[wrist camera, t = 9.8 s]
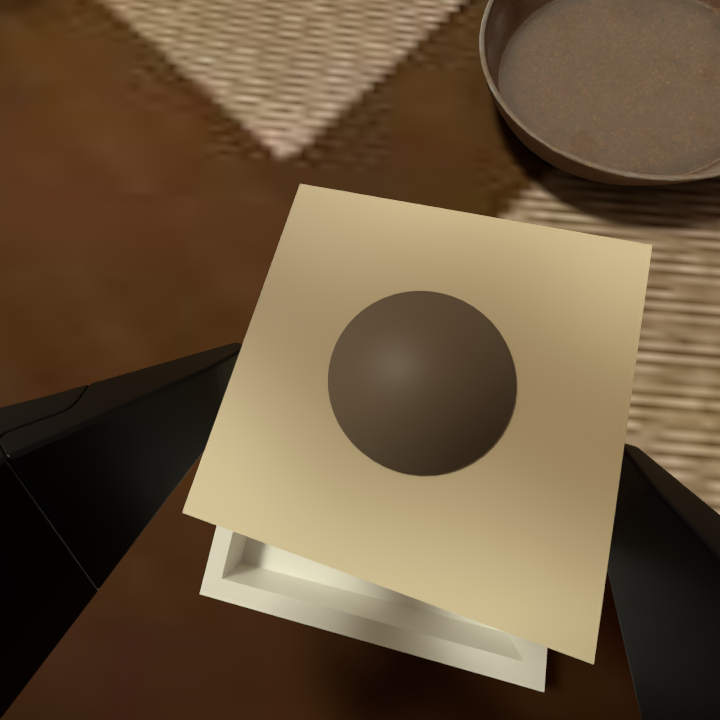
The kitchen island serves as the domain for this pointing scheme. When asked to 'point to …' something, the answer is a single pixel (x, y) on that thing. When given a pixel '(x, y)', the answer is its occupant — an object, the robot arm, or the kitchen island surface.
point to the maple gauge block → (436, 409)
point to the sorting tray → (363, 610)
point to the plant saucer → (609, 85)
